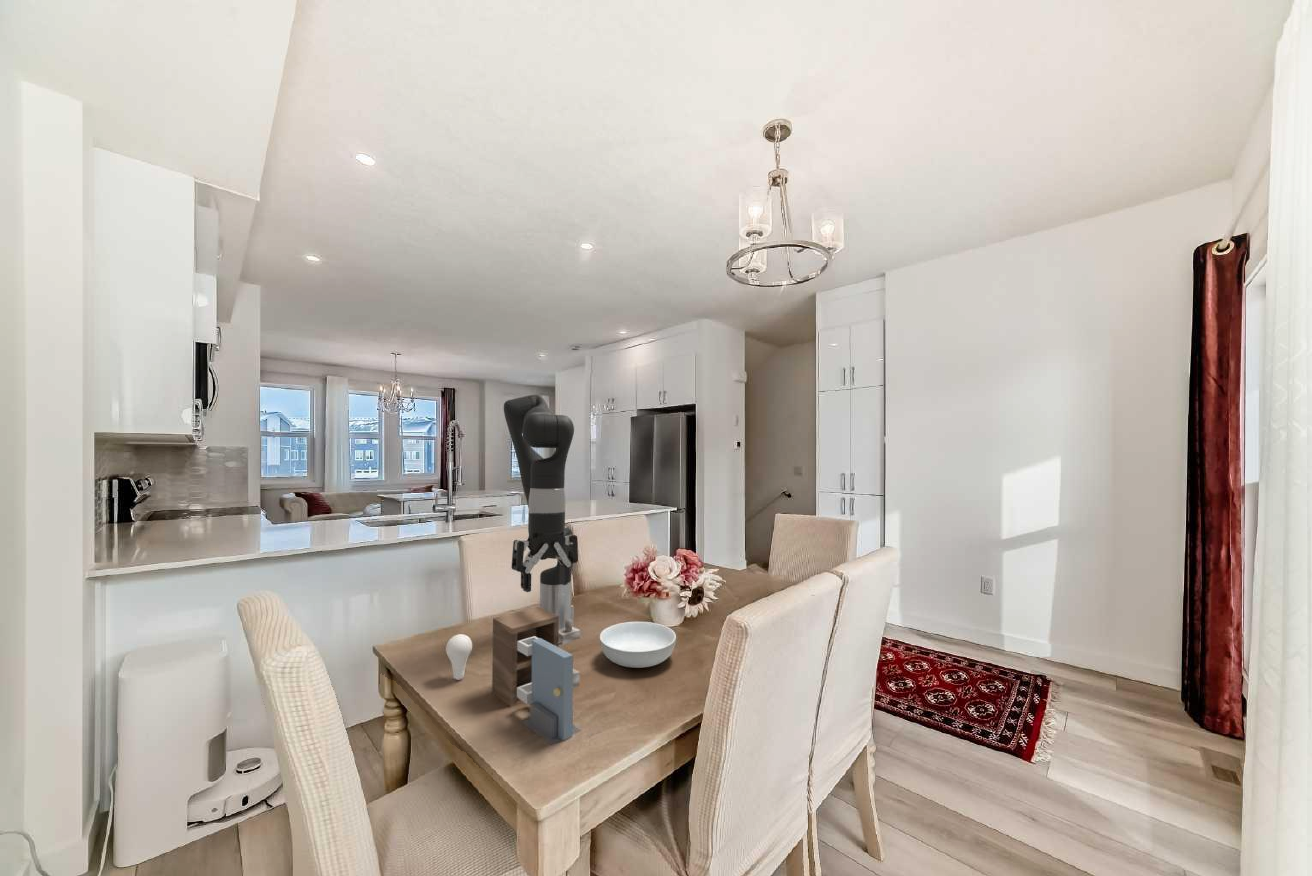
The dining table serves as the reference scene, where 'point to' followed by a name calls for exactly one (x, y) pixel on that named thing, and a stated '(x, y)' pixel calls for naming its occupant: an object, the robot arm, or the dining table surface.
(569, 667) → the cabinet door
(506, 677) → the cabinet
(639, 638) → the serving bowl
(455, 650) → the lightbulb
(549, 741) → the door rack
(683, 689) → the dining table surface
